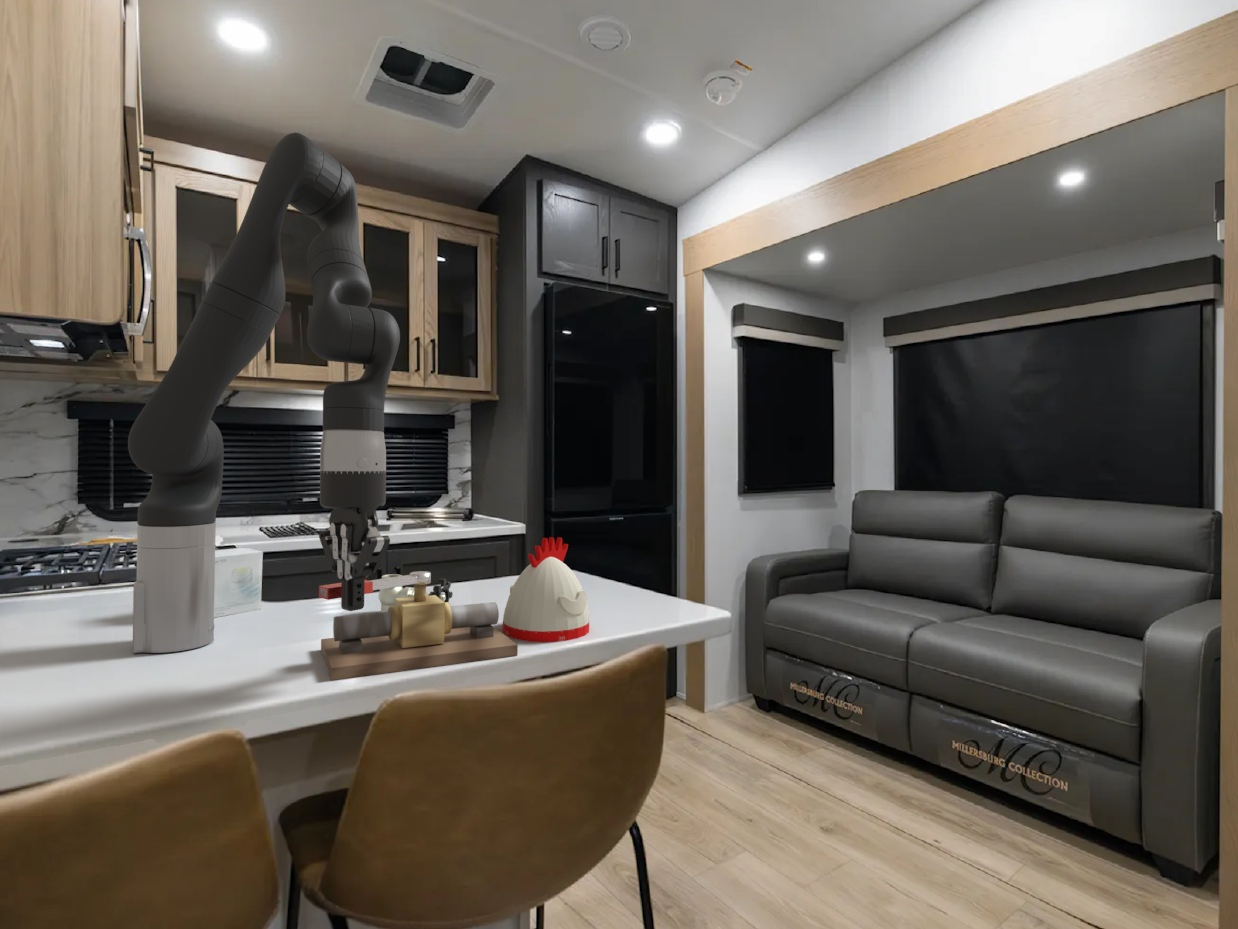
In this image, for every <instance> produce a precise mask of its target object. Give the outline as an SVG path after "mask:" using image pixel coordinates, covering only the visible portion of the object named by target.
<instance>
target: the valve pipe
mask: <svg viewBox="0 0 1238 929" xmlns="http://www.w3.org/2000/svg"><path fill="white" fill-rule="evenodd" d="M413 589H414V597H407V598H395V607H389V608H388V612H381V611H380V612H373V613H360V614H349V615H339V616H336V615H335V616H334V617H333V625H332V626H333V627H332V630H333V631H332V632H333V637H330V638H329V637H327V638H321V640H320V644H321V645H320V651H321V654H322V656H323V659H324V663H325V666H326V669H327V672H328V674H329V678H330V681H334V680H335V681H336V680H344V679H351V678H359V677H367V676H373V675H380V674H389V673H395V672H396V673H397V672H403V671H411V670H418V669H425V668H426V669H427V668H432V667H439V666H448V665H455V664H456V665H457V664H463V663H470V662H471V663H472V662H477V661H487V660H493V659H501V658H502V659H503V658H507V657H516V656H518V648H519V647H518V644H517V643H516V642H515V641H514V640H512V638H511V639H510V637H509V636H507V635H505V634H504V632H501V631H500V630H498V629H497V628H496V627H495V626H493V625H497V624H498V622H499V614H500V612H499V607H498V604H497V603H496V602H495V601H494V602H483V603H472V604H469V603H468V604H459V605H451V604H450V602H449V603H448V602H443V601H442V600H441V599H439V598H438V597H437V596H436V595H432V596H426V593H427V584H425V585H413Z"/></svg>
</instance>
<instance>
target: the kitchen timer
mask: <svg viewBox="0 0 1238 929" xmlns="http://www.w3.org/2000/svg"><path fill="white" fill-rule="evenodd" d="M568 547H569V544H568V543H563V538H562V537H559V536H558V537H557V538H556V541H555V538H554V537H552V536H549V538H547V537H542V539H541V546H540V545H534V549H535V550H534V551H535V555H534V554H531V553H528V554H527V555H528V561H529V565H528V566H526V567H525V568H524V570H522V572H521V573H520V574H519V576H518V578H517V579H515V580H516V581H515V582H514V584H512V585H510V588H509V596H508V599H507V601H506V605H505V608H504V612H503V618H502V633H503V634H504V635H505V636H507V637H508V638H511V639H514V640H519V641H524V642H525V641H526V642H533V643H534V642H535V643H538V642H539V643H556V642H564V641H565V642H566V641H571V640H577V639H580V638H582V637H584V636H587V635H588V633H590V613H589V607H588V603H587V600H588V598H587V596H588V595H587V593H586V591H585V590H583V587H582V585H581V582H580V581H579V579H578V578H577V575H576V574H575V573H574V572H573V570H572V569H571V568H570V567H569V566H568V565H567V564H566V563H564V561H565V558H566V554H567V551H568V549H569V548H568Z"/></svg>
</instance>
